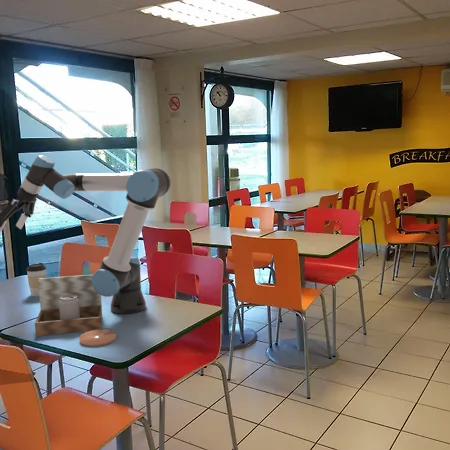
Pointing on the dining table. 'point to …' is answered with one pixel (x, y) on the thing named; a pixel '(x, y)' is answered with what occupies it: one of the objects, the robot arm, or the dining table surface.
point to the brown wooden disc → (97, 337)
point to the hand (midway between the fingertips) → (8, 229)
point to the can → (69, 307)
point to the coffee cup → (35, 277)
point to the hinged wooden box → (50, 311)
